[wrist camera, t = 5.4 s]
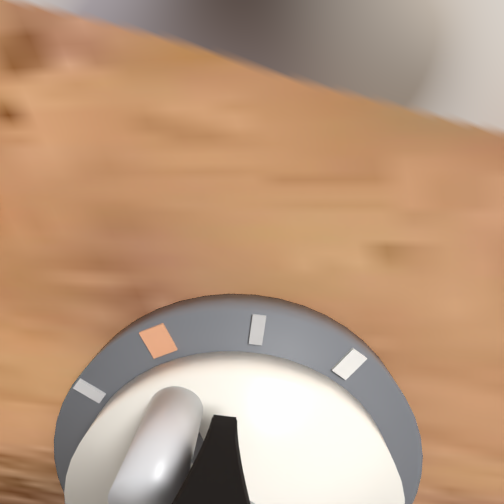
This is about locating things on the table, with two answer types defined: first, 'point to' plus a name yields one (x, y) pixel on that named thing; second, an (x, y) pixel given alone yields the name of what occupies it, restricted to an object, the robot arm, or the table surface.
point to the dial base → (247, 340)
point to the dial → (249, 435)
